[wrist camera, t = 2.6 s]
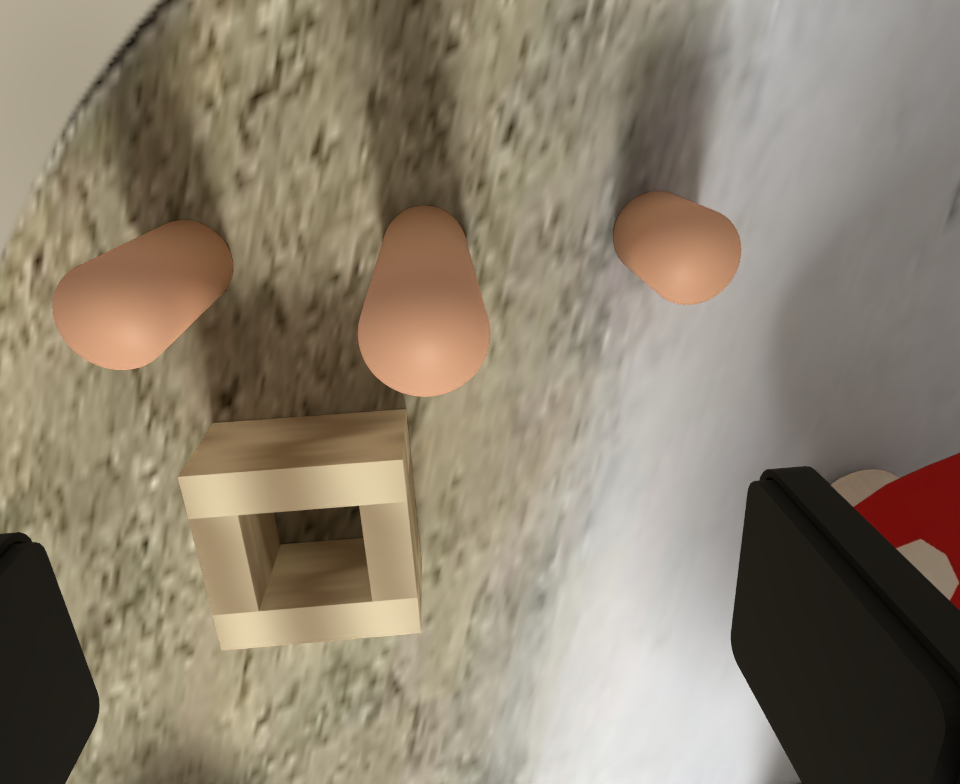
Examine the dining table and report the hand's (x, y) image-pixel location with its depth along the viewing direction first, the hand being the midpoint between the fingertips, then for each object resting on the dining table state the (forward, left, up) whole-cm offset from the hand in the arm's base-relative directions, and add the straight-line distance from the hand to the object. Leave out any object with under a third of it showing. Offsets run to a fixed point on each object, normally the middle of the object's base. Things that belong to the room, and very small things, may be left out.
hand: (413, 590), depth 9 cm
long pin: (0, 0, -23) cm, 23 cm away
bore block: (+6, +12, -23) cm, 26 cm away
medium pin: (+10, 0, -23) cm, 25 cm away
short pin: (-10, 0, -23) cm, 25 cm away
